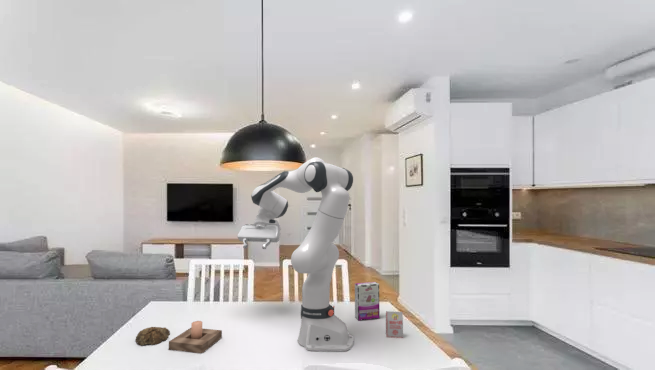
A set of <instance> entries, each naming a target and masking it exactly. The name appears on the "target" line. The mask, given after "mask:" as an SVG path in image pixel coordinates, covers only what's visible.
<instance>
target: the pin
mask: <svg viewBox="0 0 655 370" xmlns="http://www.w3.org/2000/svg"><path fill="white" fill-rule="evenodd" d="M190 328H191V339H198V340H199V339H200V338H202V328H203V321H201V320H196V321H193V322H191V327H190Z"/></svg>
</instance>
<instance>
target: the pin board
mask: <svg viewBox="0 0 655 370" xmlns="http://www.w3.org/2000/svg"><path fill="white" fill-rule="evenodd" d="M222 338H223V330H222V329H210V328H203V327H202V338H200V339H199V340H198V339H191V327H189V328H188V329H186V330H184V331H183V332H182V333H180V334H179V335H177V336H176V337H173V338H172V339H170V340H169V341H168V351H178V352H186V353H195V354H203V353H204V352H206V351H208V349H210V348H212V346H213V345H214V344H216V343H217V342H219V341H220V340H221V339H222Z"/></svg>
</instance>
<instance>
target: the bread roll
mask: <svg viewBox="0 0 655 370" xmlns="http://www.w3.org/2000/svg"><path fill="white" fill-rule="evenodd" d="M170 335H171V332H170V330H169V329H168V328H167V327H161V326H151V327H146V328H144V329H142V330H140V331H139V332H138V333H137V334H136V336H135V342H136V344H137V346H141V347H142V346H147V345H151V346H157V345H159V344H161V343H163V342H166V341H167V340H168V339H170V338H169V336H170Z"/></svg>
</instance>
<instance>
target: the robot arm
mask: <svg viewBox="0 0 655 370" xmlns="http://www.w3.org/2000/svg"><path fill="white" fill-rule="evenodd" d="M353 183H354V176H353V173H352V171H350V170H348V169H347V168H344V167H340V166H338V165H335V164H332V163H328V162H326V161H324V159H323V158H320V157H317V156H316V157H312V158H310V159H308V160H306V161H305V162H304V163H302V164H300V166H299V167H298V168H297V169H294V170H289V171H288V170H287V171H285V170H283V171H282V172H280V173H279V174H277V175H275V176H273V177H272V178H271V179H269V180H268V181H266V182H264V183H261V184H260V185H257V186H256V187H255V188H254V189H253V191H251V192H252V193H251V195H250V197H251V200H252V204H254V205H257V206H259V209H258V213H257V215H256V216H255V219H254V221H253V224H250V223H249V224H248V223H247V224H244V225H242V226H241V228H240V230H239V231H238V233H237V235H236V236H237V239H238V240H239V241H240V242H243V245H242V248H243V249H248V246H249V245H248V242H250V243H263V244H262V249H263V250H267V247H269V245H271V243H278V242H279V241H280V238H281V230H282V228H281V225H280V222H279V221H278V219H279V218H281V217H284V215H285V214H286V213H287V210H288V208H289V202H288V199H286V198H285V197H284V196H282V195H281V194H279V193H277V192H276V191H274V190H276V189H279V188H283V189H288V190H291V191H293V192H295V193H301V194H304V193H308V192H310V191H312V190H313V191H314V192H315V193H319V192H320V194H321V200H320V203H319V206H318V208H317V211H316V215H315V218H314V220H313V222H312V225H311V227H310V229H309V231H308V233H307V235H305V238H304V239H303V240H302V242H301V243H300V245H299V246H298V247H297V248H296V249H295V250H294V251H293V252H292V254H291V257H290V264H291V266H292V268H293V270H294V271H295V272H296V273H299V274H307V277H306V278H305V280H304V282H303V283H302V286H301V288H302V290H301V291H302V292H301V293H302V294H301V297H302V298H301V299H302V300H301V302H302V304H301V306H300V319H301V322H300V329H299V334H298V337H297V338H298V339H297V342H298V344H299V345H301V346H302V347H304V348H305V349H306V350H307V351H311V352H312V351H313V352H316V351H317V352H319V351H320V352H347V351H350V350H351V349H352V348H353V345H354V343H355V338H354V336H353V335H352V334H350V333H349V330H348V326H347V323H346V322H345V321H344V320H341V318H340V317H338V316H337V315H336V314H335V305H333V306H332V305H331V303H330V293H331V291H330V290H331V289H330V288H331V281H332V277H333V274H334V273H333V272H334V269H335V266H336V264H337V262H338V260H339V258H340V251H339V248H338V246H337V244H335V243H333V242H334V241H335V240H336V239H337V238H338V236H339V234H340V232H341V229H342V226H343V223H344V220H345V218H346V216H347V211H348V208H349V202H350V194H349V193H350V192H348V191H349V190H350V189H351V188H352V187H353ZM276 219H277V220H276Z"/></svg>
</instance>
